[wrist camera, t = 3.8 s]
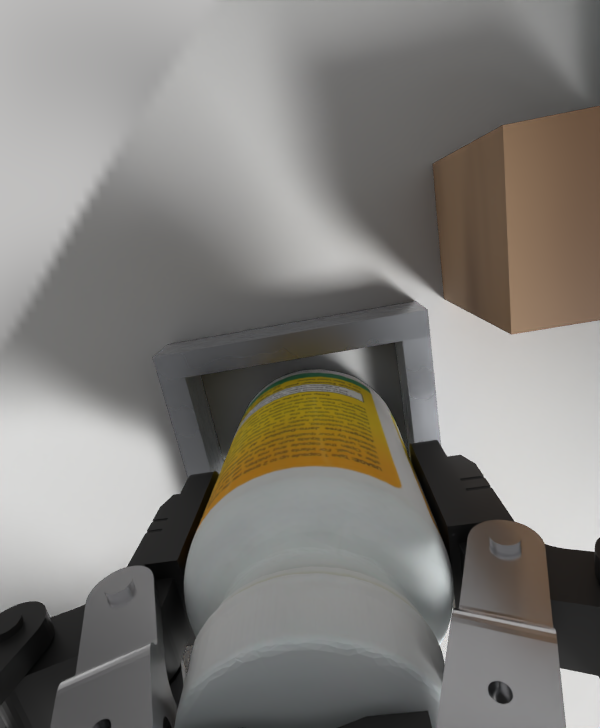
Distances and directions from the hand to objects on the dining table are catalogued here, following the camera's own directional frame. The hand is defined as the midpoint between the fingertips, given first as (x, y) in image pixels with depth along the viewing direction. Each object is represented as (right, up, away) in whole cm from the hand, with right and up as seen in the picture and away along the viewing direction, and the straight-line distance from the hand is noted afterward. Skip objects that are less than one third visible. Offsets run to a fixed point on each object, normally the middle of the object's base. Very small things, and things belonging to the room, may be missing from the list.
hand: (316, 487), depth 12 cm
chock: (+6, +8, +1) cm, 10 cm away
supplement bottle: (0, +1, +3) cm, 3 cm away
